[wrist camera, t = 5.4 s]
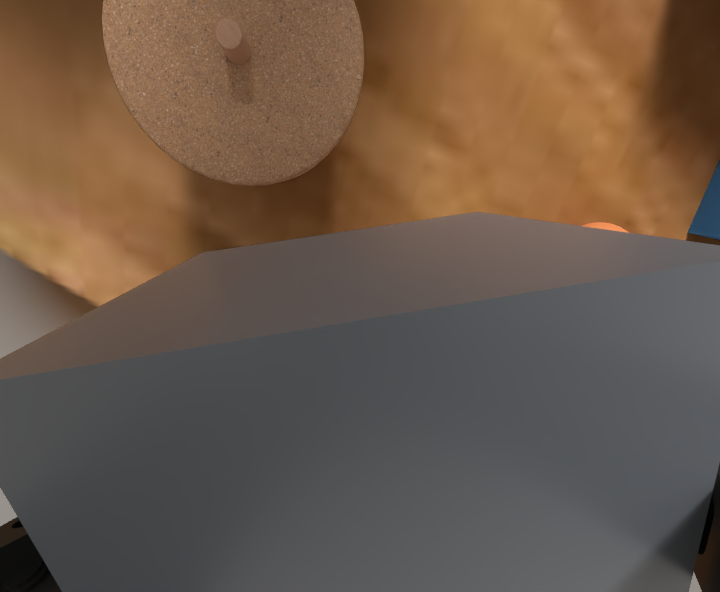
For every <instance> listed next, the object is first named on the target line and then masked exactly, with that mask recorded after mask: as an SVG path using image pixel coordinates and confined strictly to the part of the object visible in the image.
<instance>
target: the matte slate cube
mask: <svg viewBox="0 0 720 592" xmlns="http://www.w3.org/2000/svg"><path fill="white" fill-rule="evenodd" d="M719 463H720V245H714V244H706V243H699V242H692V241H685V240H678V239H670V238H663V237H656V236H649V235H642V234H634V233H627V232H620V231H613V230H606V229H598V228H591V227H584V226H577V225H570V224H562V223H555V222H548V221H541V220H534V219H526V218H519V217H512V216H505V215H498V214H490V213H483V212H473V213H466V214H459V215H452V216H446V217H439V218H432V219H425V220H419V221H412V222H405V223H398V224H392V225H385V226H378V227H371V228H365V229H358V230H351V231H344V232H338V233H331V234H324V235H317V236H311V237H304V238H297V239H290V240H284V241H277V242H270V243H263V244H257V245H250V246H243V247H236V248H230V249H223V250H216V251H209V252H203V253H200V254H198V255H196V256H195V257H193V258H191V259H189V260H187V261H185V262H183V263H181V264H179V265H177V266H176V267H174V268H172V269H170V270H168V271H166V272H164V273H162V274H160V275H158V276H157V277H155V278H153V279H151V280H149V281H147V282H145V283H143V284H141V285H139V286H138V287H136V288H134V289H132V290H130V291H128V292H126V293H124V294H122V295H120V296H119V297H117V298H115V299H113V300H111V301H109V302H107V303H105V304H103V305H101V306H100V307H98V308H96V309H94V310H92V311H90V312H88V313H87V314H84V315H82V316H81V317H79V318H77V319H75V320H73V321H71V322H70V323H67V324H65V325H64V326H62V327H60V328H58V329H56V330H54V331H52V332H50V333H48V334H46V335H44V336H43V337H41V338H39V339H37V340H35V341H33V342H31V343H29V344H27V345H25V346H24V347H22V348H20V349H18V350H16V351H14V352H12V353H10V354H8V355H7V356H5V357H3V358H1V359H0V488H1V489H2V490H3V493H4V494H5V496H6V498H7V499H8V501H9V502H10V504H11V506H12V508H13V510H14V511H15V513H16V514H17V516H18V518H19V520H20V521H21V523H22V525H23V526H24V528H25V530H26V532H27V533H28V535H29V537H30V538H31V540H32V542H33V543H34V545H35V547H36V548H37V550H38V552H39V554H40V555H41V557H42V559H43V560H44V562H45V564H46V565H47V567H48V569H49V571H50V572H51V574H52V576H53V577H54V579H55V581H56V582H57V584H58V586H59V587H60V589H61V591H62V592H688V591H689V588H690V583H691V579H692V575H693V571H694V567H695V563H696V559H697V554H698V550H699V546H700V542H701V538H702V534H703V530H704V525H705V521H706V517H707V513H708V509H709V505H710V501H711V497H712V492H713V488H714V484H715V480H716V476H717V472H718V468H719Z"/></svg>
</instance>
